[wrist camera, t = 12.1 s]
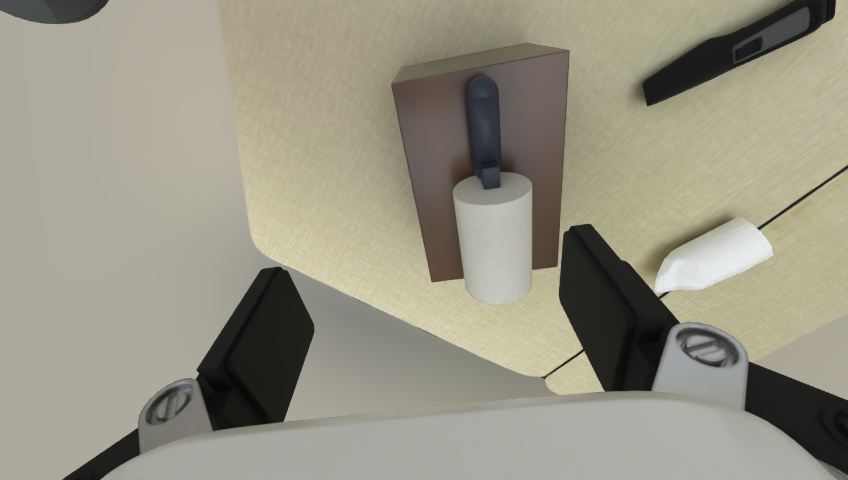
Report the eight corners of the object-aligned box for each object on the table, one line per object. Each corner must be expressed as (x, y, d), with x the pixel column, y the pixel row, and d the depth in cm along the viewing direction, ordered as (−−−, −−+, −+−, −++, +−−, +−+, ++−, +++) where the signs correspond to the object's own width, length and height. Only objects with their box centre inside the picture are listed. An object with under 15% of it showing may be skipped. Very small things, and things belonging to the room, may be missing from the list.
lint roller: (522, 258, 31) (540, 300, 26) (462, 266, 31) (468, 309, 27) (520, 66, 22) (545, 77, 18) (437, 81, 23) (440, 96, 18)
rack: (430, 225, 42) (431, 282, 33) (401, 67, 32) (390, 83, 23) (528, 212, 41) (557, 267, 31) (527, 42, 31) (570, 49, 22)
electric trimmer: (626, 76, 33) (643, 81, 30) (818, -24, 28) (858, -28, 26) (634, 111, 34) (651, 119, 32) (815, 23, 30) (852, 23, 27)
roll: (630, 259, 44) (654, 286, 39) (729, 208, 40) (770, 233, 35) (646, 286, 47) (670, 315, 42) (741, 241, 43) (780, 268, 38)
